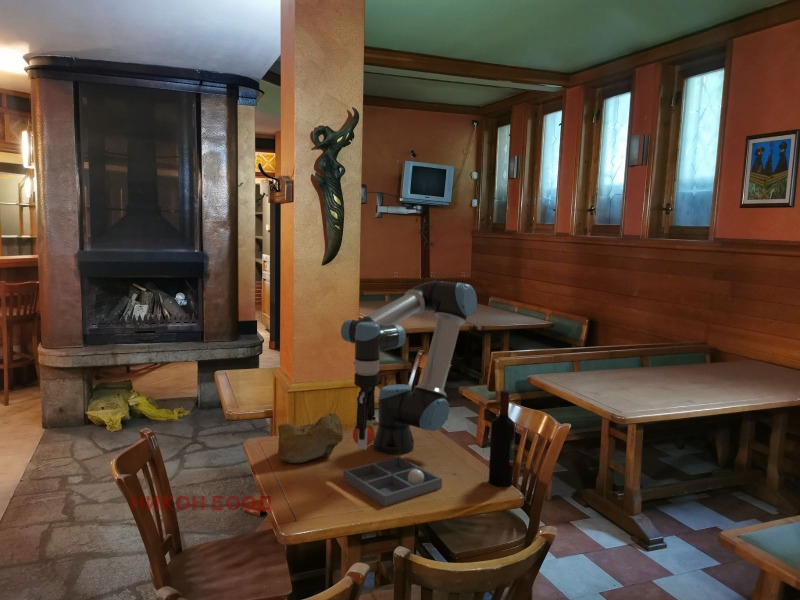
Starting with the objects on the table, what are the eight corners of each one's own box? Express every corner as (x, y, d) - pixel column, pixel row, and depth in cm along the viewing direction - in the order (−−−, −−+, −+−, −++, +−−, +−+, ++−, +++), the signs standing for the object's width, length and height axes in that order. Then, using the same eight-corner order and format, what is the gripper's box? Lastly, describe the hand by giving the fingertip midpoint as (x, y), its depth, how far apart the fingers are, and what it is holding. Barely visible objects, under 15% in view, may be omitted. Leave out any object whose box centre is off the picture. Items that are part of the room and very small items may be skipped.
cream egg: (416, 480, 190) (417, 465, 189) (427, 486, 185) (428, 470, 185) (403, 484, 186) (404, 468, 186) (414, 490, 182) (414, 474, 182)
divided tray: (398, 467, 202) (398, 456, 202) (441, 490, 185) (442, 478, 185) (343, 482, 189) (343, 470, 188) (384, 509, 172) (384, 496, 171)
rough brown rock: (331, 445, 224) (329, 405, 223) (347, 457, 209) (345, 414, 208) (269, 455, 213) (267, 414, 213) (281, 469, 199) (279, 424, 198)
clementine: (379, 442, 190) (380, 420, 189) (376, 450, 183) (376, 427, 182) (354, 440, 191) (355, 418, 190) (350, 448, 184) (350, 426, 183)
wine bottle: (487, 477, 196) (491, 388, 193) (510, 478, 196) (515, 389, 193) (490, 487, 189) (494, 394, 185) (514, 487, 189) (518, 395, 185)
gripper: (362, 364, 194) (361, 432, 197) (346, 379, 175) (344, 454, 178) (385, 366, 193) (383, 434, 196) (371, 381, 174) (369, 457, 176)
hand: (365, 444), depth 187 cm, fingers closed on clementine, 7 cm apart
